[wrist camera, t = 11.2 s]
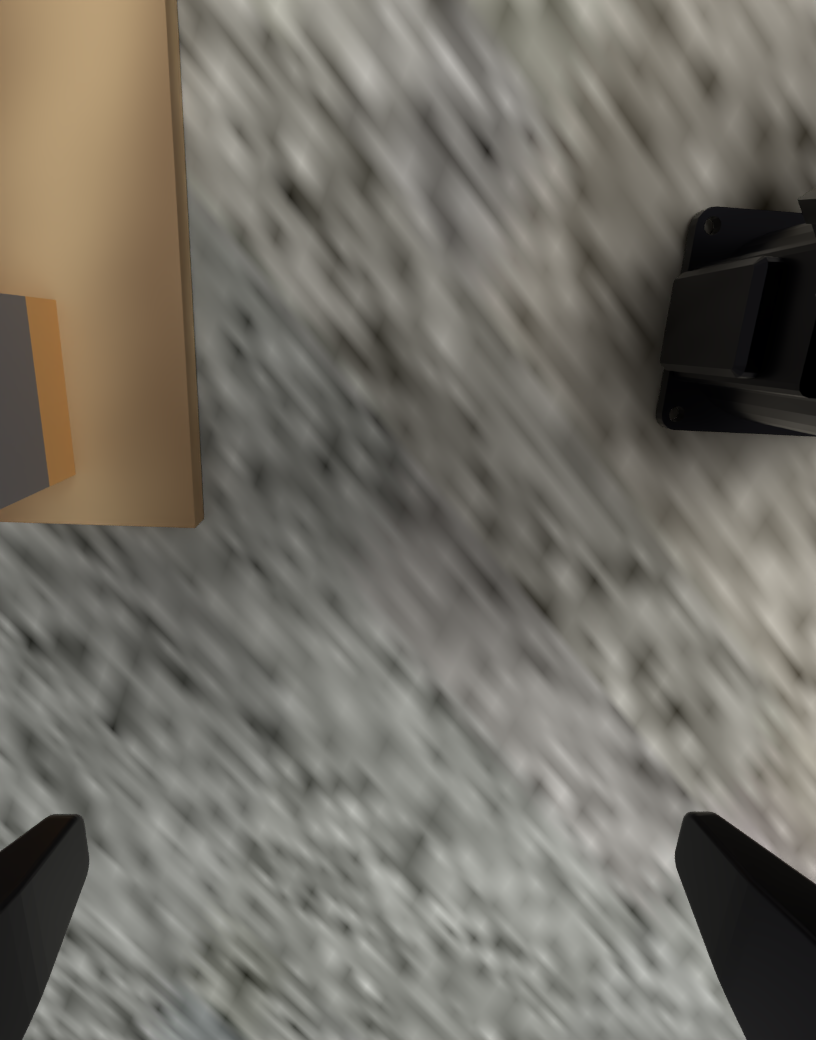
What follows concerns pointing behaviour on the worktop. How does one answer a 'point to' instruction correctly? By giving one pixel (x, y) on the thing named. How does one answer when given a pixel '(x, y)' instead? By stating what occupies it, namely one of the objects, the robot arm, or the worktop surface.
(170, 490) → the pin board
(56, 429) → the sleeve
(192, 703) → the worktop surface
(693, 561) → the worktop surface
